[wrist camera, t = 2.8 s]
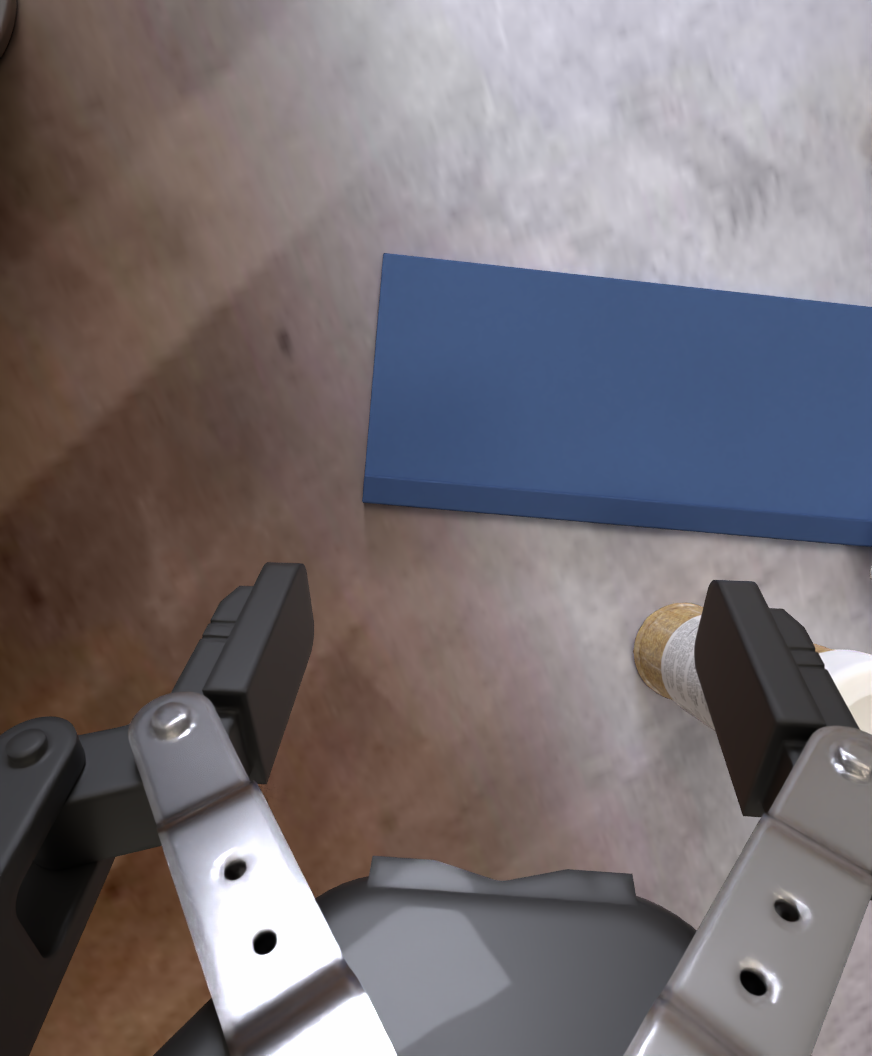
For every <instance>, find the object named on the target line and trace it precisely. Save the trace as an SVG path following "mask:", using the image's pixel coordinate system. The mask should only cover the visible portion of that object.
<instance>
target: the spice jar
mask: <svg viewBox="0 0 872 1056" xmlns="http://www.w3.org/2000/svg"><path fill="white" fill-rule="evenodd" d="M702 611H703V607H701V606H698V605H695V604H691V603H675V604H671V605H668V606H665V607H663V608H661V609H659V610H657V611H655V612H654V613H653V614H651V615H650V616H648V617H647V619H646V620H645V622H644V623H643V625H642V626H641V628H640V629H639V631H638V634H637V636H636V639H635V644H634V650H633V653H634V660H635V664H636V667H637V670H638V672H639V674H640V676H641V678H642V679H643V681H644V682H645V683H646V685H647V686H648V687H650V688H651V689H652V690H654V691H655V692H656V693H658V694H660V695H662V696H663V697H665V698H669V699H671V700H674V701H675V702H676V703H677V704H678V705H679V706H680V707H681V708H682V709H683V710H685V711H686V712H688V713H689V714H691V715H692V716H694V717H695V718H697V719H698V720H700V721H701V722H703V723H704V724H706V725H707V726H709V727H710V728H712V729H713V730H715V728H714V725H713V722H712V718H711V715H710V712H709V709H708V706H707V703H706V700H705V697H704V694H703V691H702V688H701V684H700V681H699V678H698V675H697V672H696V668H695V661H694V645H695V639H696V635H697V631H698V627H699V623H700V619H701V615H702ZM814 646H815V651H816V652H818V653H819V655H820V657H821V659H822V661H823V663H824V664H825V669H827V670H828V672H829V674H830V675H831V677H832V679H833V681H834V683H835V685H836V686H837V688H838V690H839V692H840V694H841V696H842V697H843V699H844V701H845V703H846V705H847V707H848V708H849V710H850V712H851V714H852V716H853V718H854V719H855V721H856V723H857V725H858V727H859V728H860V730H862V731H864V732H867V733H869V734H871V735H872V655H870V654H867V653H863V652H859V651H854V650H846V649H844V650H832V649H829V648H826V647H823V646H819V645H817V644H814Z"/></svg>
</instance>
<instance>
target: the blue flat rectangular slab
mask: <svg viewBox="0 0 872 1056" xmlns="http://www.w3.org/2000/svg"><path fill="white" fill-rule="evenodd" d="M362 502H363V503H373V504H384V505H396V506H407V507H419V508H430V509H441V510H453V511H464V512H476V513H487V514H499V515H510V516H522V517H533V518H545V519H556V520H568V521H579V522H590V523H602V524H613V525H625V526H636V527H648V528H659V529H671V530H682V531H694V532H705V533H717V534H728V535H740V536H751V537H762V538H774V539H785V540H797V541H808V542H820V543H831V544H843V545H854V546H866V547H872V307H866V306H857V305H848V304H839V303H830V302H821V301H812V300H802V299H793V298H784V297H775V296H766V295H757V294H748V293H739V292H730V291H721V290H712V289H703V288H694V287H685V286H676V285H667V284H658V283H649V282H640V281H631V280H622V279H613V278H604V277H595V276H586V275H577V274H568V273H559V272H550V271H541V270H532V269H523V268H514V267H505V266H496V265H487V264H478V263H469V262H460V261H451V260H442V259H433V258H424V257H415V256H406V255H397V254H388V253H384V254H383V264H382V276H381V288H380V300H379V312H378V323H377V335H376V347H375V359H374V370H373V382H372V394H371V406H370V418H369V429H368V441H367V453H366V465H365V477H364V486H363V498H362Z"/></svg>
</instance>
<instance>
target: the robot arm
mask: <svg viewBox="0 0 872 1056" xmlns="http://www.w3.org/2000/svg"><path fill="white" fill-rule="evenodd" d="M15 15H16V0H0V58H1V56H2V55H3V53H4V51H5V49H6V47H7V45H8V43H9V40H10V37H11V34H12V31H13V27H14V22H15ZM313 639H314V620H313V613H312V606H311V599H310V592H309V585H308V578H307V572H306V568H305V566H304V564H300V563H273V562H267V563H265V565H264V566H263V568H262V570H261V572H260V574H259V576H258V578H257V580H256V582H255V584H254V586H239V587H237V588H236V589H235V590H234V591H233V592H231V593H230V594H229V595H228V596H227V597H226V598H224V599H223V600H222V601H221V602H220V604H219V605H218V607H217V609H216V611H215V613H214V615H213V617H212V618H211V623H210V624H208V626H207V628H206V629H205V631H204V633H203V637H202V639H200V640H199V642H198V644H197V646H196V648H195V650H194V652H193V653H192V655H191V657H190V659H189V661H188V663H187V664H186V666H185V668H184V670H183V672H182V674H181V675H180V677H179V679H178V681H177V683H176V685H175V686H174V688H173V690H172V692H171V693H170V694H167V695H164V696H161V697H159V698H157V699H155V700H153V701H151V702H150V703H148V704H147V705H145V706H144V707H143V708H142V709H141V710H140V711H139V712H138V713H137V714H136V715H135V716H134V718H133V719H132V721H131V723H130V724H129V725H126V726H122V727H118V728H113V729H108V730H103V731H98V732H93V733H88V734H84V735H79V736H78V735H77V733H76V730H75V728H74V727H73V725H72V724H71V723H70V722H69V721H67V720H65V719H63V718H59V717H40V718H35V719H31V720H28V721H25V722H23V723H20V724H18V725H16V726H14V727H12V728H10V729H9V730H7V731H6V732H4V733H3V734H2V735H0V1056H29V1054H30V1052H31V1050H32V1047H33V1045H34V1043H35V1041H36V1038H37V1036H38V1034H39V1031H40V1029H41V1027H42V1024H43V1022H44V1020H45V1018H46V1015H47V1013H48V1011H49V1008H50V1006H51V1004H52V1002H53V999H54V997H55V995H56V992H57V990H58V988H59V985H60V983H61V981H62V979H63V976H64V974H65V972H66V969H67V967H68V965H69V962H70V960H71V958H72V956H73V953H74V951H75V949H76V946H77V944H78V942H79V940H80V937H81V935H82V933H83V930H84V928H85V926H86V923H87V921H88V919H89V917H90V914H91V912H92V910H93V907H94V905H95V903H96V900H97V898H98V896H99V894H100V891H101V889H102V887H103V884H104V882H105V880H106V878H107V875H108V873H109V871H110V868H111V866H112V864H113V861H114V859H115V857H116V856H120V855H125V854H129V853H133V852H137V851H141V850H145V849H150V848H154V847H158V846H162V847H163V850H164V853H165V856H166V860H167V863H168V866H169V869H170V872H171V875H172V878H173V881H174V884H175V887H176V890H177V893H178V896H179V899H180V902H181V905H182V908H183V911H184V914H185V917H186V920H187V923H188V927H189V930H190V933H191V936H192V939H193V942H194V945H195V948H196V951H197V954H198V957H199V960H200V963H201V966H202V969H203V972H204V975H205V978H206V981H207V984H208V987H209V991H210V994H211V997H212V998H211V999H210V1000H209V1001H208V1002H207V1003H206V1004H205V1005H204V1006H203V1007H202V1008H201V1009H200V1010H199V1011H198V1012H197V1013H196V1014H195V1015H194V1016H193V1017H192V1018H191V1019H190V1020H189V1021H188V1022H187V1023H186V1024H185V1025H184V1026H182V1027H181V1028H180V1029H179V1030H178V1031H177V1032H176V1033H175V1034H174V1035H173V1036H172V1037H171V1038H170V1039H169V1040H168V1041H167V1042H166V1043H165V1044H164V1045H163V1046H162V1047H161V1048H160V1049H159V1050H158V1051H157V1052H156V1053H155V1054H154V1055H153V1056H812V1055H811V1054H812V1051H813V1049H814V1046H815V1044H816V1041H817V1038H818V1036H819V1033H820V1030H821V1028H822V1025H823V1022H824V1020H825V1017H826V1014H827V1012H828V1009H829V1006H830V1004H831V1001H832V999H833V996H834V993H835V991H836V988H837V985H838V983H839V980H840V977H841V975H842V972H843V969H844V967H845V964H846V961H847V959H848V956H849V954H850V951H851V948H852V946H853V943H854V940H855V938H856V935H857V932H858V930H859V927H860V924H861V922H862V919H863V917H864V914H865V911H866V909H867V906H868V903H869V901H870V900H872V735H871V734H869V733H867V732H864V731H862V730H860V728H859V727H858V725H857V723H856V721H855V719H854V718H853V716H852V714H851V712H850V710H849V708H848V707H847V705H846V703H845V701H844V699H843V697H842V696H841V694H840V692H839V690H838V688H837V686H836V685H835V683H834V681H833V679H832V677H831V675H830V674H829V672H828V670H827V669H825V664H824V663H823V661H822V659H821V657H820V655H819V653H818V652H816V651H815V646H814V644H813V642H812V641H811V639H810V637H809V635H808V633H807V632H806V630H805V628H804V627H803V626H802V625H801V624H800V623H799V622H798V621H796V620H795V619H794V618H793V617H792V616H791V615H789V614H788V613H787V612H786V611H785V610H784V609H775V608H769V607H768V605H767V603H766V601H765V599H764V597H763V595H762V593H761V591H760V589H759V587H758V586H757V584H756V583H755V582H752V581H726V580H713V581H712V582H711V583H710V585H709V587H708V591H707V595H706V599H705V603H704V607H703V611H702V615H701V619H700V623H699V627H698V631H697V635H696V639H695V645H694V661H695V668H696V672H697V675H698V678H699V681H700V684H701V688H702V691H703V694H704V697H705V700H706V703H707V706H708V709H709V712H710V715H711V718H712V722H713V725H714V728H715V731H716V734H717V737H718V740H719V743H720V746H721V749H722V752H723V756H724V759H725V762H726V765H727V768H728V771H729V774H730V777H731V780H732V783H733V786H734V790H735V793H736V796H737V799H738V802H739V805H740V808H741V811H742V814H743V816H751V817H761V819H760V820H759V822H758V824H757V825H756V827H755V829H754V831H753V832H752V834H751V836H750V838H749V840H748V841H747V843H746V845H745V847H744V848H743V850H742V852H741V854H740V855H739V857H738V859H737V861H736V863H735V864H734V866H733V868H732V870H731V871H730V873H729V875H728V877H727V879H726V880H725V882H724V884H723V886H722V887H721V889H720V891H719V893H718V894H717V896H716V898H715V900H714V902H713V903H712V905H711V907H710V909H709V910H708V912H707V914H706V916H705V918H704V919H703V921H702V923H701V925H700V926H699V928H698V930H697V931H696V930H695V929H694V928H693V927H692V926H691V925H689V924H688V923H686V922H685V921H684V920H682V919H681V918H680V917H678V916H677V915H675V914H674V913H672V912H670V911H668V910H667V909H665V908H663V907H662V906H660V905H657V904H655V903H653V902H651V901H649V900H647V899H644V898H641V897H638V896H636V894H635V888H634V882H633V875H632V874H626V873H612V872H597V871H583V870H569V869H567V870H561V871H556V872H550V873H545V874H540V875H534V876H529V877H524V878H518V879H513V880H508V881H498V880H493V879H490V878H487V877H484V876H481V875H478V874H475V873H472V872H469V871H466V870H463V869H460V868H457V867H454V866H451V865H448V864H445V863H442V862H439V861H436V860H425V859H411V858H397V857H382V856H373V857H372V863H371V869H370V874H369V876H368V877H363V878H358V879H355V880H352V881H349V882H346V883H343V884H341V885H339V886H337V887H335V888H332V889H330V890H328V891H327V892H325V893H323V894H322V895H320V896H318V897H317V898H314V896H313V894H312V892H311V890H310V888H309V886H308V884H307V882H306V880H305V878H304V876H303V874H302V872H301V870H300V868H299V866H298V864H297V862H296V860H295V858H294V856H293V854H292V852H291V850H290V848H289V846H288V844H287V842H286V840H285V838H284V836H283V834H282V832H281V830H280V828H279V826H278V824H277V822H276V820H275V818H274V816H273V814H272V812H271V810H270V808H269V806H268V804H267V802H266V800H265V798H264V796H263V793H262V792H261V790H260V788H259V786H258V784H267V781H268V778H269V776H270V773H271V770H272V767H273V764H274V761H275V758H276V755H277V752H278V749H279V746H280V743H281V740H282V737H283V734H284V731H285V728H286V725H287V722H288V719H289V716H290V713H291V710H292V707H293V704H294V701H295V698H296V695H297V692H298V690H299V687H300V684H301V681H302V678H303V675H304V672H305V669H306V666H307V663H308V660H309V657H310V654H311V651H312V646H313Z"/></svg>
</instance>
